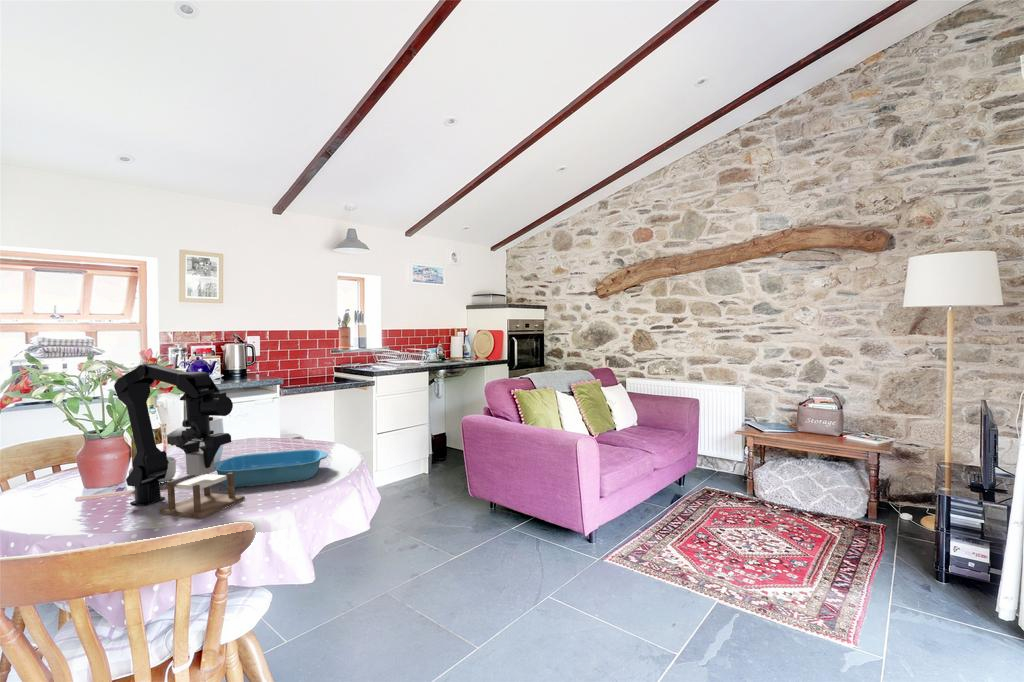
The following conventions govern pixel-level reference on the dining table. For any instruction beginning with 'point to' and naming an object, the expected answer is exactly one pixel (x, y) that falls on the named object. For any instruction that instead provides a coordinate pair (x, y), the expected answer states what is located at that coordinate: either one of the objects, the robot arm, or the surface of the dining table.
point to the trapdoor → (201, 481)
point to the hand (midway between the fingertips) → (200, 467)
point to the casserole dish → (271, 467)
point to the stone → (197, 464)
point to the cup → (217, 428)
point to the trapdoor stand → (200, 499)
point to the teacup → (170, 470)
